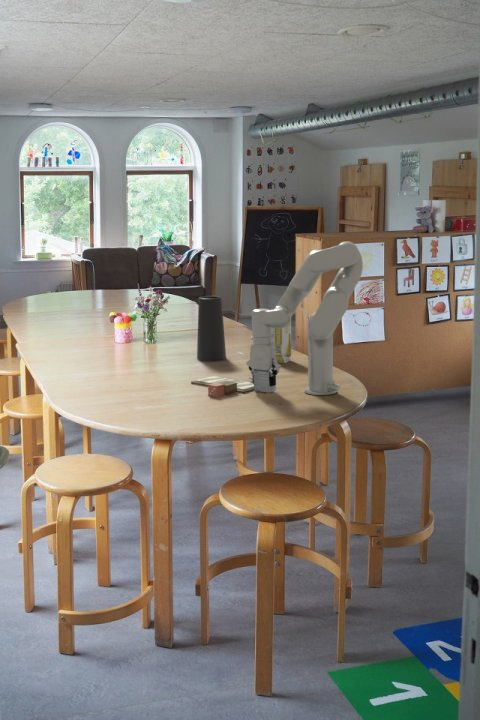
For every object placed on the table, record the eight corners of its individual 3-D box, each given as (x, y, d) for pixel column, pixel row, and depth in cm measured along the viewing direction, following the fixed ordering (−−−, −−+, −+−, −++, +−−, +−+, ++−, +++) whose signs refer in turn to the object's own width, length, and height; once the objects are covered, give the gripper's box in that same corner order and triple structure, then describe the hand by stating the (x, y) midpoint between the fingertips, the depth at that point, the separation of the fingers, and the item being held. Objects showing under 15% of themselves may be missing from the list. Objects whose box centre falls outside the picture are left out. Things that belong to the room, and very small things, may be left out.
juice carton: (287, 364, 400) (286, 311, 395) (270, 363, 402) (269, 310, 398) (292, 360, 409) (292, 308, 404) (276, 359, 411) (275, 308, 406)
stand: (237, 392, 347) (236, 382, 346) (226, 395, 343) (226, 385, 342) (225, 390, 351) (225, 380, 350) (215, 393, 346) (215, 383, 346)
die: (224, 384, 342) (216, 386, 339) (224, 395, 343) (216, 397, 340) (216, 382, 345) (207, 384, 342) (216, 393, 346) (208, 396, 343)
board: (265, 387, 355) (265, 384, 354) (243, 393, 345) (243, 390, 345) (212, 378, 374) (212, 375, 374) (191, 383, 364) (191, 380, 364)
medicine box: (276, 390, 346) (275, 369, 345) (269, 393, 343) (268, 371, 342) (260, 388, 352) (259, 367, 350) (253, 390, 348) (252, 369, 347)
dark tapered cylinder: (231, 358, 414) (230, 297, 408) (207, 362, 406) (205, 300, 401) (215, 354, 425) (214, 294, 419) (191, 358, 418) (189, 297, 412)
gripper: (239, 340, 346) (241, 383, 350) (273, 344, 335) (275, 389, 338) (251, 337, 352) (253, 380, 355) (285, 340, 340) (287, 385, 344)
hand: (264, 384), depth 347 cm, fingers closed on medicine box, 8 cm apart
